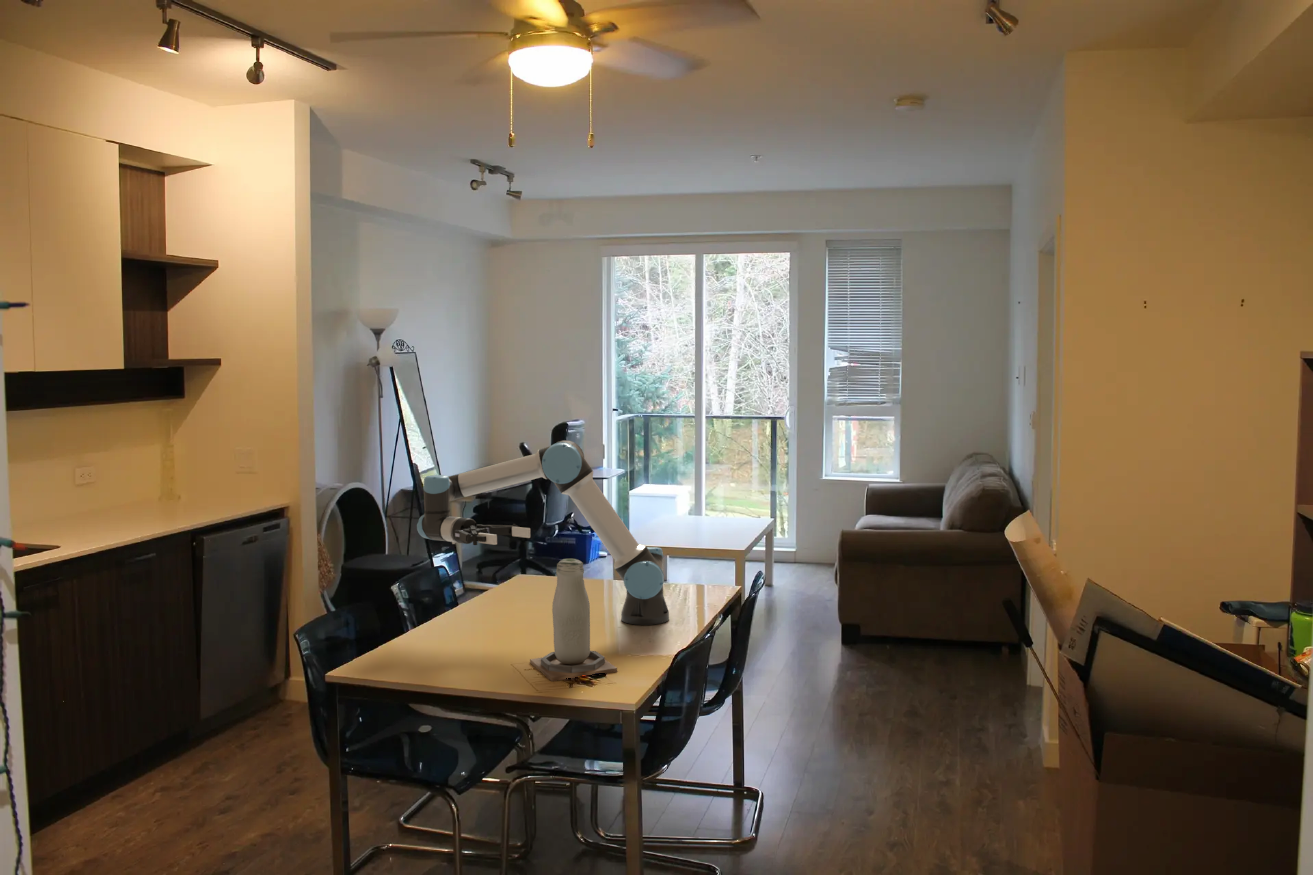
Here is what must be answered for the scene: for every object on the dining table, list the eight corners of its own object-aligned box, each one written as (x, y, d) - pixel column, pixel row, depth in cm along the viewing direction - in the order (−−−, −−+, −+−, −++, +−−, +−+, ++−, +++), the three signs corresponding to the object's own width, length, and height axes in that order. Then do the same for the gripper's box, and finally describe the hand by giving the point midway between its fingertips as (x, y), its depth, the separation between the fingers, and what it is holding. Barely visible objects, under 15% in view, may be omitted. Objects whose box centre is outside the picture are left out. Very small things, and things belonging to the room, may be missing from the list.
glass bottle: (587, 656, 266) (586, 554, 264) (593, 667, 256) (591, 561, 254) (551, 659, 264) (549, 556, 262) (555, 670, 254) (553, 563, 252)
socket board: (592, 654, 272) (592, 645, 272) (617, 671, 256) (617, 662, 255) (530, 662, 264) (529, 653, 264) (551, 681, 248) (551, 671, 248)
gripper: (490, 536, 300) (542, 543, 288) (428, 549, 280) (481, 556, 267) (490, 512, 299) (542, 517, 287) (427, 522, 279) (480, 529, 267)
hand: (513, 536), depth 277 cm, fingers open, 13 cm apart
